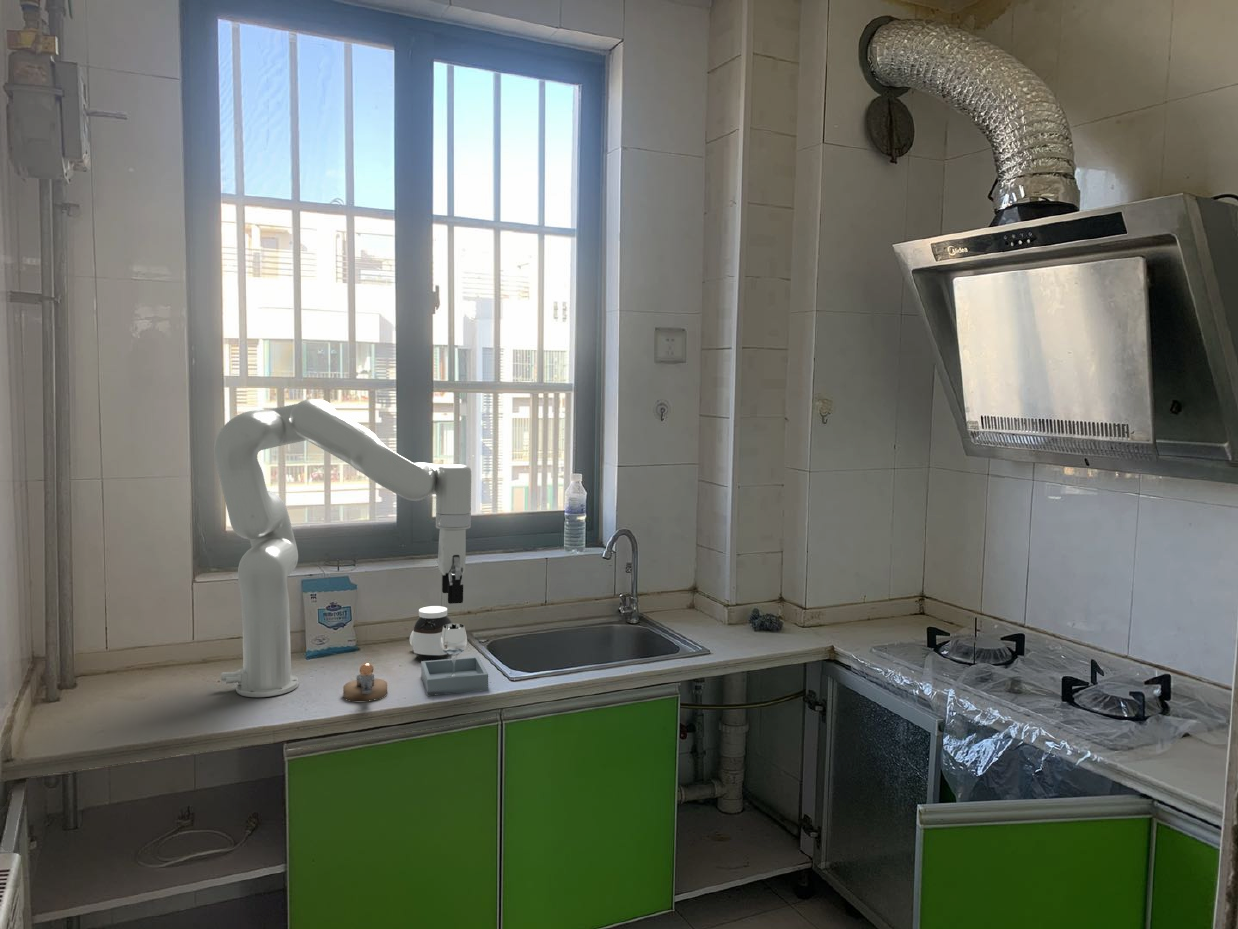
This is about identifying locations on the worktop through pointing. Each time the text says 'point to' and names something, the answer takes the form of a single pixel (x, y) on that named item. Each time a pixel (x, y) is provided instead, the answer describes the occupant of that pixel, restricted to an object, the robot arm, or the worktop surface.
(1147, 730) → the worktop surface
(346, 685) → the crank base
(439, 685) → the tray
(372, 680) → the crank
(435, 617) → the spread jar
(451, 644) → the wineglass
